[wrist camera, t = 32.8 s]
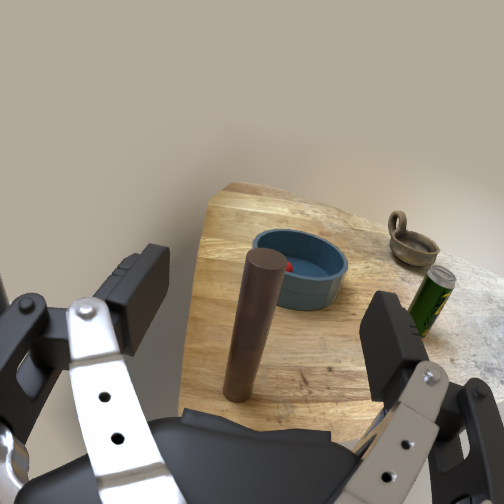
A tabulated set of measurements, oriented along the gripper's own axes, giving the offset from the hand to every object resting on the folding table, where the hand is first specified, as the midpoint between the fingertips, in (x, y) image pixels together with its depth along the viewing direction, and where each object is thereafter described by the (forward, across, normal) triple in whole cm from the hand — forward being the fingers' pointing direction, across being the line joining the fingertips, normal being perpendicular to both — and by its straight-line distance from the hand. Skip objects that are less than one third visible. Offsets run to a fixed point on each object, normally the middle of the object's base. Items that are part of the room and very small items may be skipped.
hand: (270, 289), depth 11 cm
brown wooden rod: (+11, 0, +23) cm, 26 cm away
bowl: (+56, -37, +23) cm, 71 cm away
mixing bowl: (+36, -7, +23) cm, 43 cm away
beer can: (+27, -28, +23) cm, 46 cm away
